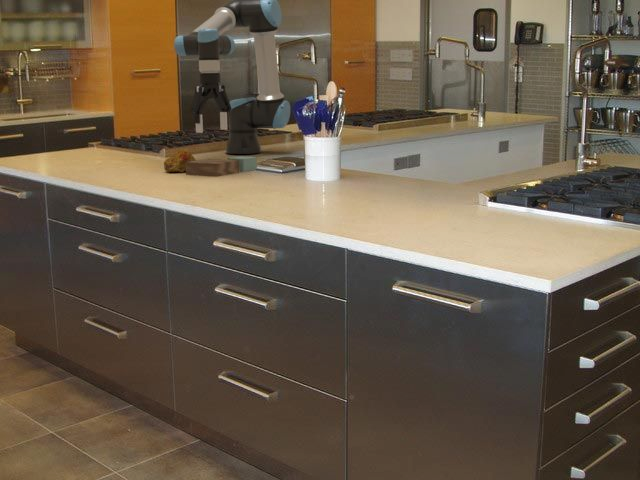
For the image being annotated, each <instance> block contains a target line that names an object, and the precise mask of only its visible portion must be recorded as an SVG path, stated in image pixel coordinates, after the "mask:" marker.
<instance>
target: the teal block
mask: <svg viewBox="0 0 640 480" xmlns="http://www.w3.org/2000/svg"><path fill="white" fill-rule="evenodd" d="M226 160H239V173H240V172H241V173H245V172H252V171H255V170H258V157H257V156H243V155H242V156H241V155H238V156H233V157H227V158H226Z"/></svg>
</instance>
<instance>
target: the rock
mask: <svg viewBox="0 0 640 480" xmlns="http://www.w3.org/2000/svg"><path fill="white" fill-rule="evenodd" d="M190 161H197V160H196V158H195V157H194V155H192V153H191V152H190V151H189V150H187V149H185V148H181V149H178V150H177V151H175V152H174V153H172V154H171V155H170V156H169V158H166V159H165V160H164V162H163V167H164V171H165V172H169V173H170V172H171V173H172V172H180V173H183V172H186V162H190Z"/></svg>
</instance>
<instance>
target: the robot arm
mask: <svg viewBox="0 0 640 480" xmlns="http://www.w3.org/2000/svg"><path fill="white" fill-rule="evenodd" d="M282 20H283V13H282V9H281V5H280V3H279V2H278V0H230V1H228V2H225V3H224V4H223V5H221V6H220V7H218V8H217V9H216V10H215V11H214V13H213V15H211V17H210V18H208V19H207V20H206V21H204V22H203V23H201V24H200V25H199V26H198V27H196V28H195V29H194V30H193V31H191V32H190V33H189V34H187V35H185V34H184V35H178V36H177V37H176V38H175V39H174V41H173V45H174V46H173V48H174V51H175V52H174V53H176V55H178V56H180V57H198V70H199V72H200V73H198V74H199V76H198V79H199V84H201V86H200V85H199V86H197V85H196V86H195V87H194V96H193V97H192V102H191V106H190V108H189V109H190V110H189V112H190V114H192V115H193V116H194V124H195V133H196V134H198V133H199V134H200V133H201V134H202V133H204V125H203V123H204V122H203V114H201V113H202V111H203V109H204V107H205V105H206V103H207V101H208V100H209V99H212V100H214V101H215V102H216V104H217V106H218V107H219V109H220V112H219V122H220V123H219V124H220V125H219V127H220V130H222V131H223V130H224V131H228V130H229V132H228V135H229V136H228V139H227V142H226V146H225V153H226V154H231V155H235V154H236V155H245V154H246V155H247V154H248V155H249V154H259V153H262V147H261V144H260V141H259V138H258V135H257V134H258V133H257V129H273V130H276V129H283V128H285V127H286V126H287V125H288V123H289V121H290V116H291V104H290V101H288V100H285V95H284V94H283V93H282V92H281V89H280V87H281V86H280V80H279V78H280V77H279V70H278V69H279V68H278V57H277V46H276V36H275V35H276V33H277V32H278V30H279V29H278V28H279V27H280V26H281V24H282ZM235 28H248V30H249V31H248V32H249V34H251V35H252V36H253V42H254V53H255V61H256V68H257V69H256V71H257V79H258V90H259V94H258V95H257V96H256V97H255V96H253V97H252V96H251V97H245V98H243V97H242V98H239V99H238V98H237V99H233V100H232V99H231V100H230V99H229V97H228V95H227V93H226V86H225V84H221V85H220V83H221V73H220V71H221V64H220V60H221V59H220V56H223V57H224V56H225V57H226V56H229V55H231V54H233V52H234V51H235V48H236V42H235V40H234V38H233V37H232V36H230V35H226V34H223V33H225V32H226V31H231V30H232V29H235Z"/></svg>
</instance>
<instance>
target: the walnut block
mask: <svg viewBox="0 0 640 480" xmlns="http://www.w3.org/2000/svg"><path fill="white" fill-rule="evenodd" d="M239 173H240V172H239V160H227V159H222V158H221V159H220V158H218V159H217V158H207V159H206V158H204V159H197V160H196V161H190V162H186V171H185V175H186V176H201V177H202V176H203V177H214V178H216V177H217V178H218V177H223V176H228V175H233V174H239Z"/></svg>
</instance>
